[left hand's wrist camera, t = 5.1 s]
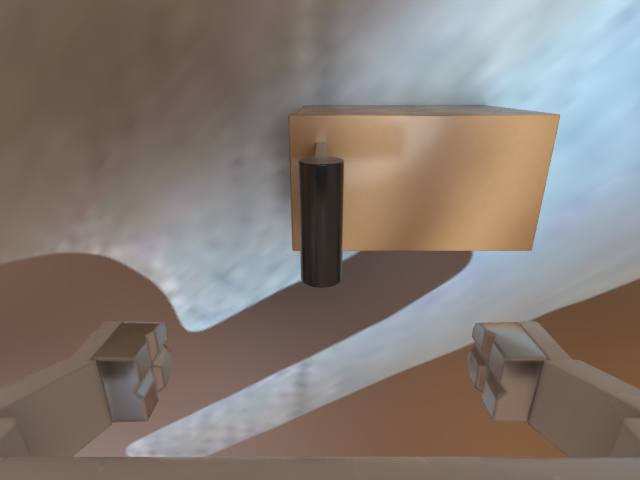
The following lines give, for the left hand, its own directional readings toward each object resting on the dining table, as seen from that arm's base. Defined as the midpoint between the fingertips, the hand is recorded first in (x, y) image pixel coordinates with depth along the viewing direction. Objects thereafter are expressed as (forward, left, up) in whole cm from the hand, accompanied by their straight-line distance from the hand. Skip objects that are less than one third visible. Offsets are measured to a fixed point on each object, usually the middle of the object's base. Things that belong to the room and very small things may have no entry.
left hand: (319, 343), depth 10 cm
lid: (+6, +2, -18) cm, 19 cm away
